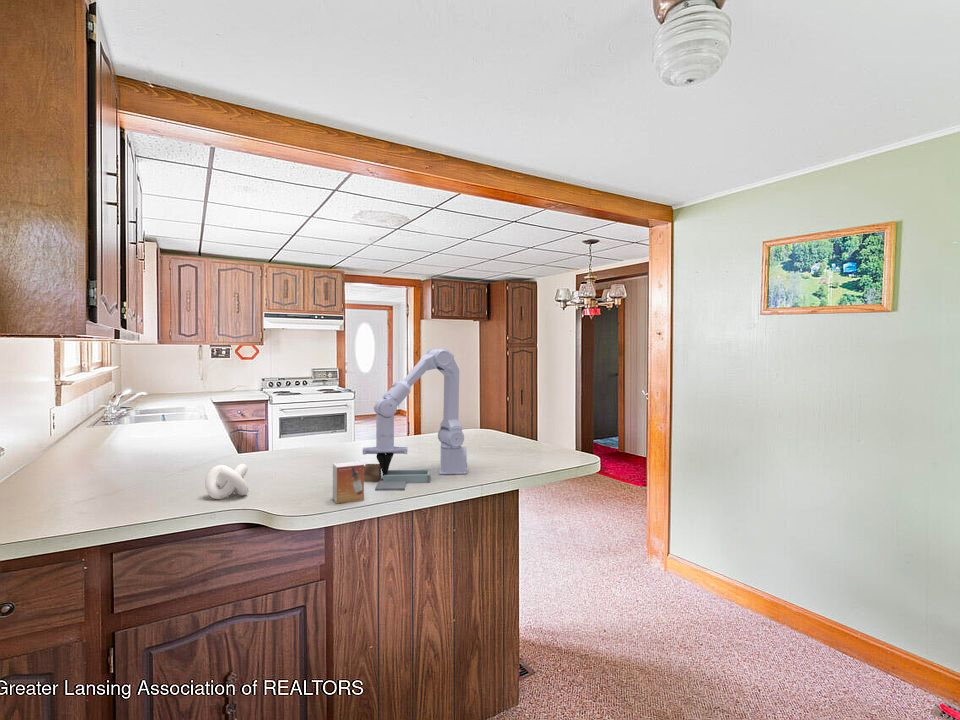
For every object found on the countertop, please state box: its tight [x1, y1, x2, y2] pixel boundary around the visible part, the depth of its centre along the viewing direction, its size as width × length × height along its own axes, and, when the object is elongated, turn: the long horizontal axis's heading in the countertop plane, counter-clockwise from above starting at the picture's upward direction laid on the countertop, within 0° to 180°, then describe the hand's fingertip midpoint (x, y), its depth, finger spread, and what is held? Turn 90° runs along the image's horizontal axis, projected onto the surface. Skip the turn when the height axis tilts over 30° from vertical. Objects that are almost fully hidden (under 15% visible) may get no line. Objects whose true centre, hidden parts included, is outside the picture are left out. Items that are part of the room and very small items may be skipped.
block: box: [364, 463, 382, 483], centre depth 164 cm, size 5×4×5 cm
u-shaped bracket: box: [382, 469, 431, 484], centre depth 164 cm, size 15×7×2 cm, turn 94°
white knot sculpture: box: [204, 463, 250, 500], centre depth 146 cm, size 11×12×9 cm
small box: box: [332, 460, 365, 504], centre depth 143 cm, size 8×6×10 cm
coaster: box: [374, 480, 408, 492], centre depth 157 cm, size 9×9×1 cm
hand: (385, 475), depth 164 cm, fingers closed
